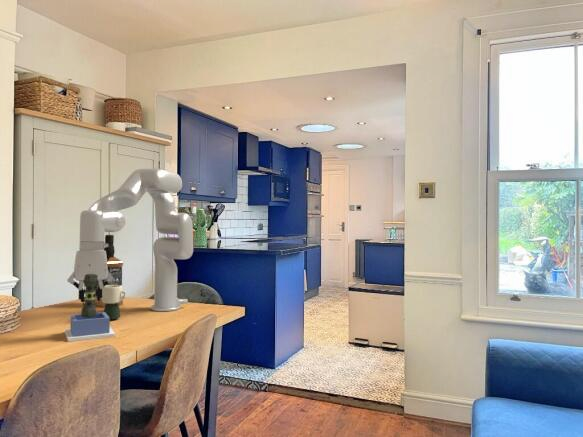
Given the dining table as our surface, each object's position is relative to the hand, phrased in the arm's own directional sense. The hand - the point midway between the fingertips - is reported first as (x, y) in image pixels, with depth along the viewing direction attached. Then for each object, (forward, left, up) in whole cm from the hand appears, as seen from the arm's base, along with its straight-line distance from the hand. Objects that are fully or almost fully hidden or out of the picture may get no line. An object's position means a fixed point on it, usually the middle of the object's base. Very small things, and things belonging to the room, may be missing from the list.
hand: (90, 300), depth 148 cm
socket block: (0, 0, -11) cm, 11 cm away
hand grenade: (0, 0, -6) cm, 6 cm away
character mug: (-10, -21, -12) cm, 26 cm away
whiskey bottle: (-13, -53, -12) cm, 56 cm away
